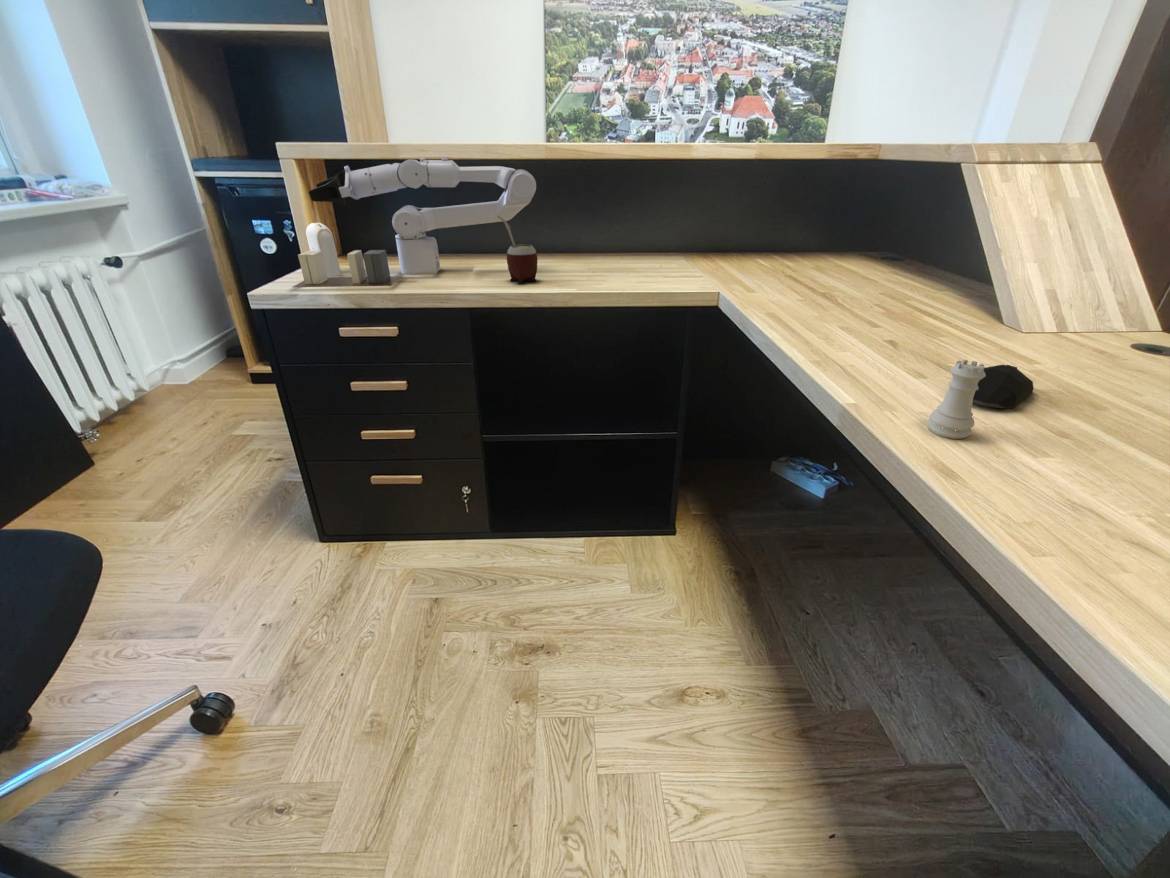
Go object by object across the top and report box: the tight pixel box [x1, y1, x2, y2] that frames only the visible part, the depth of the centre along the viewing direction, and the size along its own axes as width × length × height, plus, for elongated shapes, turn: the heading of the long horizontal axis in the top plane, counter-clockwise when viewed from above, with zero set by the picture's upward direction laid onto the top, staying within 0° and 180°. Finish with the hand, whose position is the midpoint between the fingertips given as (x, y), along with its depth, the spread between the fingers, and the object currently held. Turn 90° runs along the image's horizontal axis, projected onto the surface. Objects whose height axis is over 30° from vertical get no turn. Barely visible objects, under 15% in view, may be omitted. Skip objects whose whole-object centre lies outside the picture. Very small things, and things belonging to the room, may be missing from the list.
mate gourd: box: [497, 215, 538, 285], centre depth 127 cm, size 8×8×15 cm
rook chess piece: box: [926, 359, 986, 440], centre depth 60 cm, size 4×4×8 cm
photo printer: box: [305, 222, 342, 277], centre depth 135 cm, size 10×4×12 cm, turn 39°
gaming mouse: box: [972, 364, 1034, 409], centre depth 71 cm, size 6×15×4 cm, turn 126°
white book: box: [346, 249, 367, 284], centre depth 127 cm, size 2×5×6 cm, turn 2°
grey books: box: [362, 249, 391, 283], centre depth 127 cm, size 4×5×6 cm
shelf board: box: [292, 275, 403, 288], centre depth 129 cm, size 22×10×1 cm, turn 92°
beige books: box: [297, 250, 328, 284], centre depth 127 cm, size 3×5×6 cm
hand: (314, 192), depth 127 cm, fingers open, 7 cm apart
